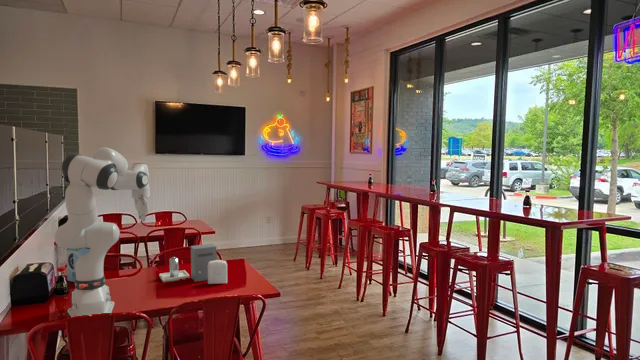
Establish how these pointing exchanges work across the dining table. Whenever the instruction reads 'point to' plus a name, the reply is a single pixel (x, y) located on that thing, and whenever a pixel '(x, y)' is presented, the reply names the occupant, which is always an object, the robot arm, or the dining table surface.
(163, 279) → the tray
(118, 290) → the dining table surface
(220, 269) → the photo printer
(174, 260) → the cartridge
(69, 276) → the gum box
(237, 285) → the dining table surface
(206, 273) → the box
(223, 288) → the dining table surface
